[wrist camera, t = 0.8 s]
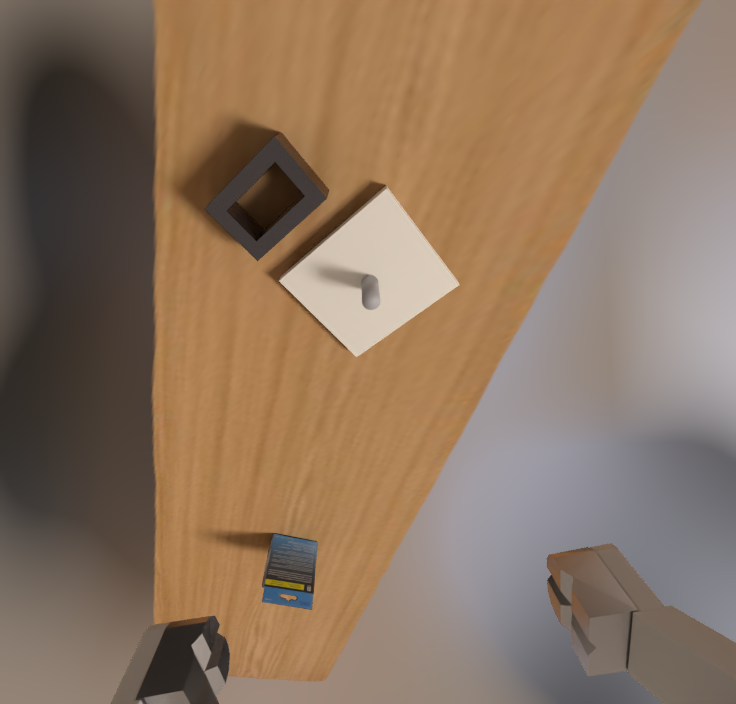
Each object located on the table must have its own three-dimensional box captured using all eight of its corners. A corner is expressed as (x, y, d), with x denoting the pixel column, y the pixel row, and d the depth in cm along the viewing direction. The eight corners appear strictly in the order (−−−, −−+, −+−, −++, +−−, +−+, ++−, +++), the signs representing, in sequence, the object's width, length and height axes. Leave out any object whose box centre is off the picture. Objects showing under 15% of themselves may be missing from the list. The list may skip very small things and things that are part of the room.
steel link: (281, 132, 40) (274, 136, 36) (329, 190, 43) (326, 198, 39) (216, 199, 43) (204, 208, 40) (264, 248, 46) (257, 261, 43)
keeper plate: (386, 185, 43) (390, 198, 37) (456, 279, 49) (469, 303, 43) (280, 276, 48) (271, 299, 42) (356, 351, 54) (356, 380, 48)
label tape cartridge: (268, 543, 78) (255, 612, 67) (273, 532, 76) (260, 601, 66) (312, 551, 80) (306, 620, 69) (318, 541, 78) (312, 609, 67)
